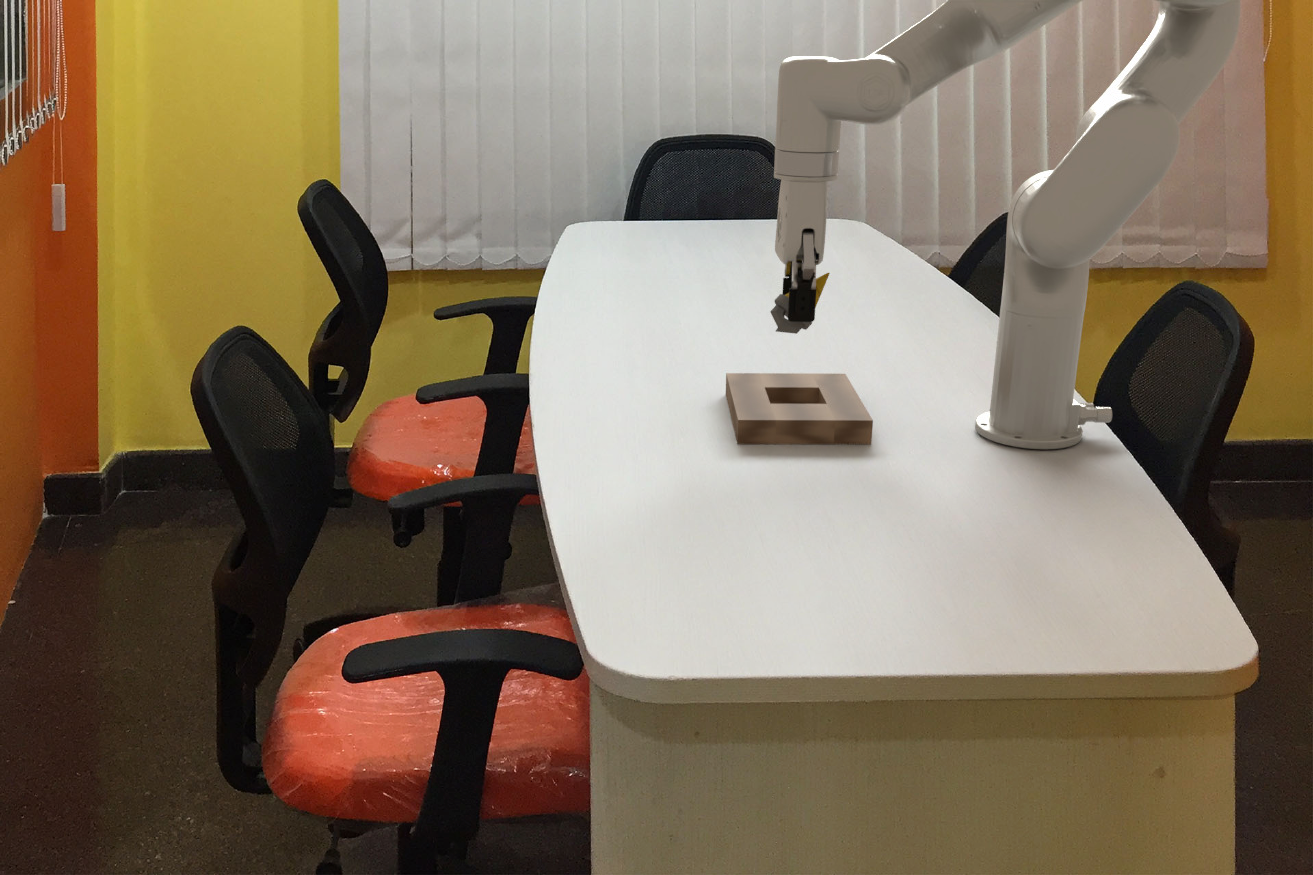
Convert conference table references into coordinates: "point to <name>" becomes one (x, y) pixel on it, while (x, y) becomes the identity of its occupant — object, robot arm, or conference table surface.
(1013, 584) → the conference table surface
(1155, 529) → the conference table surface
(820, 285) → the drill bit
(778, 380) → the holder block
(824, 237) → the robot arm
